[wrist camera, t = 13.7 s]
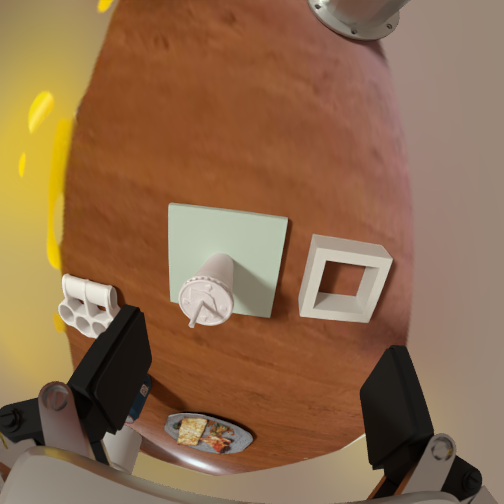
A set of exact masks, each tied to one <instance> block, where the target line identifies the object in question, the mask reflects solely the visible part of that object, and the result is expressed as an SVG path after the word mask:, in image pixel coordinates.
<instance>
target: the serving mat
mask: <svg viewBox="0 0 504 504" xmlns="http://www.w3.org/2000/svg"><path fill="white" fill-rule="evenodd" d="M287 222H288V217H281V216H274V215H267V214H260V213H253V212H245V211H238V210H230V209H222V208H214V207H206V206H197V205H188V204H179V203H170V204H169V211H168V240H169V278H170V298H171V302H175V303H179V300H178V297H179V292H180V290H181V288H182V286H183V284H184V283H185V282H186V281H187V280H188V279H190V278H192V277H193V276H194V275H195V274H196V273H197V272H198V271H199V269H200V268H201V267H202V266H203V265H204V264H205V262H206V261H207V260H208V259H209V258H210V257H211V256H212V255H213V254H215V253H225V254H227V255H228V256H230V257H231V259H232V260H233V263H234V272H233V288H232V294H233V297H234V308H233V311H232V312H233V313H239V314H246V315H252V316H260V317H267V318H270V315H271V310H272V305H273V300H274V295H275V290H276V284H277V279H278V273H279V268H280V263H281V257H282V251H283V246H284V240H285V234H286V228H287Z"/></svg>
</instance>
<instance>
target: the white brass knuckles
mask: <svg viewBox="0 0 504 504" xmlns="http://www.w3.org/2000/svg"><path fill="white" fill-rule="evenodd" d="M62 288H63V292H64V296H65V299H64V300H63V301H62V302H61V303H60V305H59V307H58V310H59V314H60V316H61V318H62V319H63V320H64V321H65V323H67V324H68V325H71V326H73V327H75V328H77V329H78V330H79V331H80V332H81V333H82V334H84V335H86V336H87V337H93V338H97V337H98V336H99V334H100V333H102V332H105V331H106V329H107V328H108V326H109V325H110V323H111V322H112V320H113V319H114V318H115V316H116V315H117V313H118V312H119V311H120V308H119V306H118V305H117V293H116V290H115V288H114V287H112V286H111V285H104V284H100V283H96V282H92V281H90V280H88V279H86V280H85V279H82V278H78V277H74V276H71V275H69V274H65V275H64V276H63V278H62ZM78 299H80V300H83V301H84V305H83V304H81V302H80V301H79V300H78ZM97 305H100V306H103V307H106V311H102V310H100V309H99V308H98V307H97ZM85 319H86V320H87V321H88V322H89V323H88V322H87V321H86V320H85Z"/></svg>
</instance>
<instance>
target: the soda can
mask: <svg viewBox="0 0 504 504" xmlns="http://www.w3.org/2000/svg"><path fill="white" fill-rule="evenodd" d="M151 388H152V383H151V379H150V377H149V376H148V375H147V374H146V376H145V378H144V381H143V383H142V385H141V387H140V389H139V392H138V394H137V396H136V398H135V400H134V403H133V405H132V407H131V410H130V412H129V414H128V416H127V419H126V421H125V423H129V424H131V423H133V422H134V421H135V420H136V419H138V418H139V415H140V413H141V411H142V408H143V406H144V404H145V401H146V399H147V397H148V394H149V392H150V390H151Z"/></svg>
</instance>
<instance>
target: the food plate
mask: <svg viewBox="0 0 504 504" xmlns="http://www.w3.org/2000/svg"><path fill="white" fill-rule="evenodd" d="M207 419H209V420H212V421H216V422H219V423H215V424H213V425H212V426H211V427H208V421H209V420H207ZM223 424H225V425H227V426H229V427H231V428H232V429H234V431H236V432H234V433H235V435H234V436H232V437H231V436H230V434H232V433H228V432H227V429H228V427H226V426H224V425H223ZM164 429H165V431H166V432H167V433H168V434H169V435H170V436H171V437H172V438H174V440H176V441H177V444H179V445H186V446H188V447H191V448H194V449H196V450H199V451H203V452H208V453H216V454H230V453H236V452H241V451H242V450H244V449H245V448H246V447H247V446H248V445H249V444H250V443H251V442H252V441H253V438H252V435H251V434H250V433H248V432H247V431H244V430H243V429H241V428H240V427H238V426H235V425H233V424H231V423H228V422H225V421H222V420H218V419H216V418H213V417H209V416H205V415H202V414H191V413H180V414H174V415H170V416H169V417H168V419H167V421H166V424H165V428H164ZM235 436H236V437H237V438H236V437H235ZM232 438H233V439H232Z"/></svg>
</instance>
